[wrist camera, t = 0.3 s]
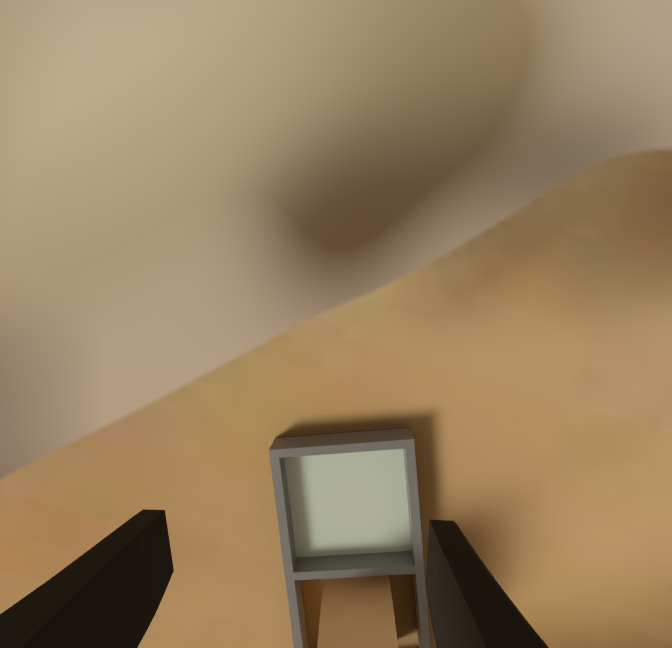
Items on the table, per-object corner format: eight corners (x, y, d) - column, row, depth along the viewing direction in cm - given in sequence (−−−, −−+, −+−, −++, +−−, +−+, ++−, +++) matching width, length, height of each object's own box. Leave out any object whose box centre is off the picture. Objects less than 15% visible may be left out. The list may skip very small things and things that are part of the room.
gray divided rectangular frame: (428, 660, 21) (433, 689, 20) (303, 666, 22) (300, 693, 20) (409, 427, 20) (413, 439, 18) (275, 438, 20) (269, 450, 19)
